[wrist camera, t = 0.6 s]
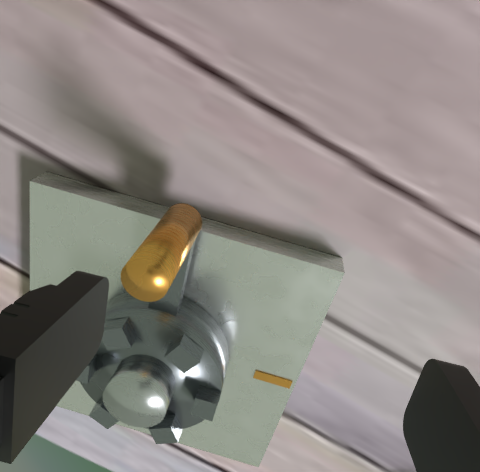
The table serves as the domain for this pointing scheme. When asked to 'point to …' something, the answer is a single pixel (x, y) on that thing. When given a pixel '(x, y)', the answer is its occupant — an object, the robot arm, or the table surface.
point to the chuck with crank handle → (158, 340)
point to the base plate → (198, 299)
